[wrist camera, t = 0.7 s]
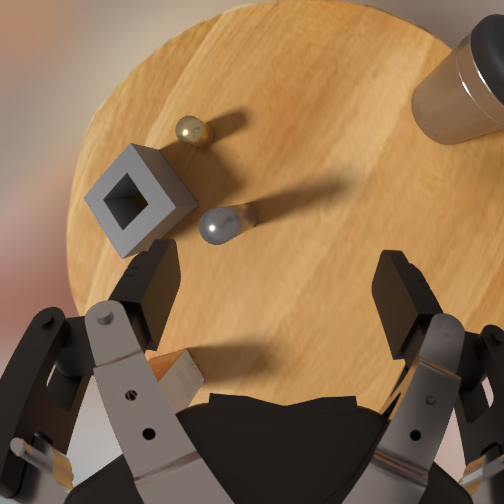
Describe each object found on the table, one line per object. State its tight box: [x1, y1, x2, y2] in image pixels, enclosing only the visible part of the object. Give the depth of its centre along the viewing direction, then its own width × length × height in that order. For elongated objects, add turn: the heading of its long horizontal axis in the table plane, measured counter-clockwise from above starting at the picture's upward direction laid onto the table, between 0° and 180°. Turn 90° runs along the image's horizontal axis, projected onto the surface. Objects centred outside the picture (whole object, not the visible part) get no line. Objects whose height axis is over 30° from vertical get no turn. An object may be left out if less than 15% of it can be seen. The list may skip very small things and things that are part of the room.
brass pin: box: [175, 116, 214, 148], centre depth 34 cm, size 3×3×5 cm
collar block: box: [84, 143, 199, 259], centre depth 36 cm, size 10×10×7 cm
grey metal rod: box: [199, 204, 258, 245], centre depth 31 cm, size 3×3×12 cm
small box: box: [148, 349, 205, 414], centre depth 38 cm, size 8×6×13 cm
